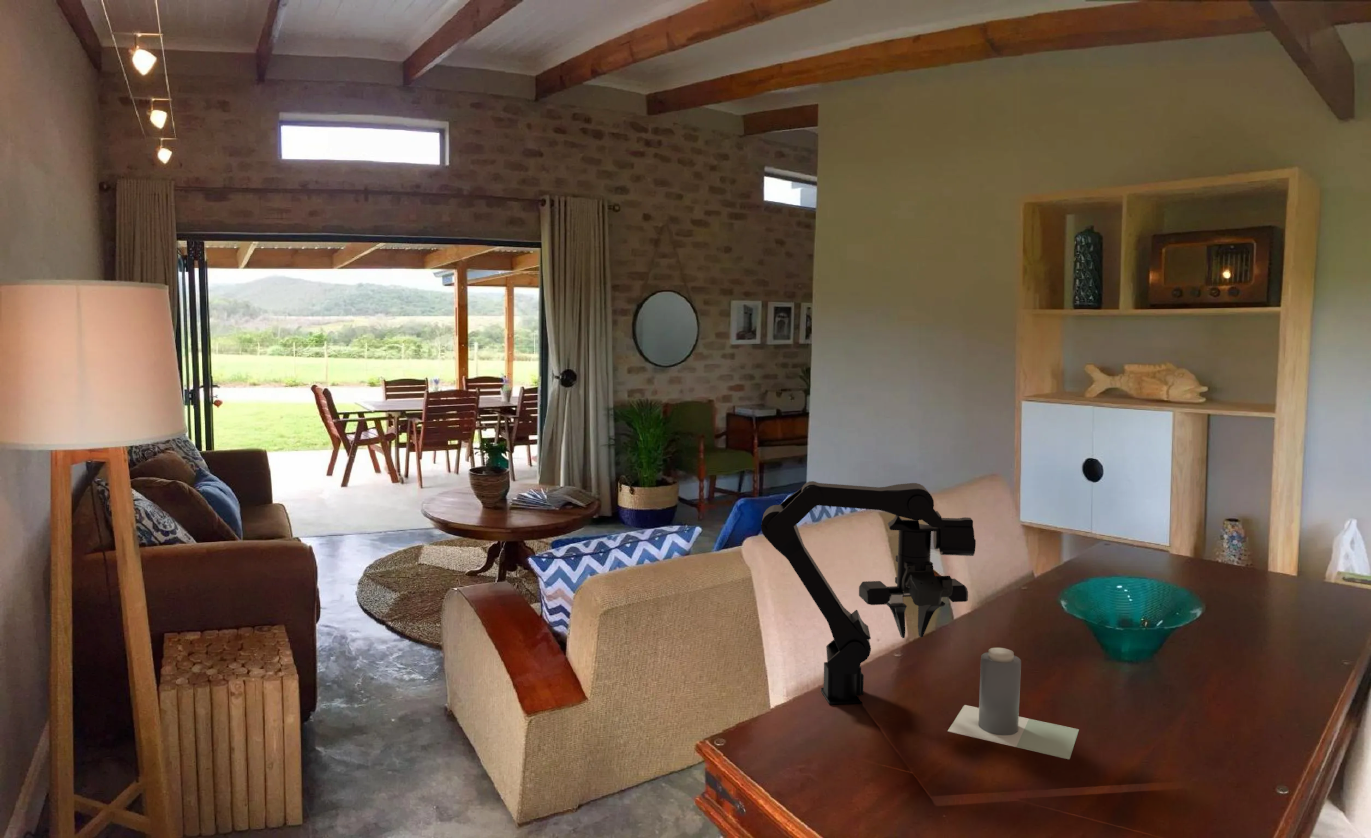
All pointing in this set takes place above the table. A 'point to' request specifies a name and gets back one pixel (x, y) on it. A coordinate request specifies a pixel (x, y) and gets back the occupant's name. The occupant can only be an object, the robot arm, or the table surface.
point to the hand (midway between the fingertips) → (911, 637)
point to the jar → (999, 692)
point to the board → (1020, 734)
